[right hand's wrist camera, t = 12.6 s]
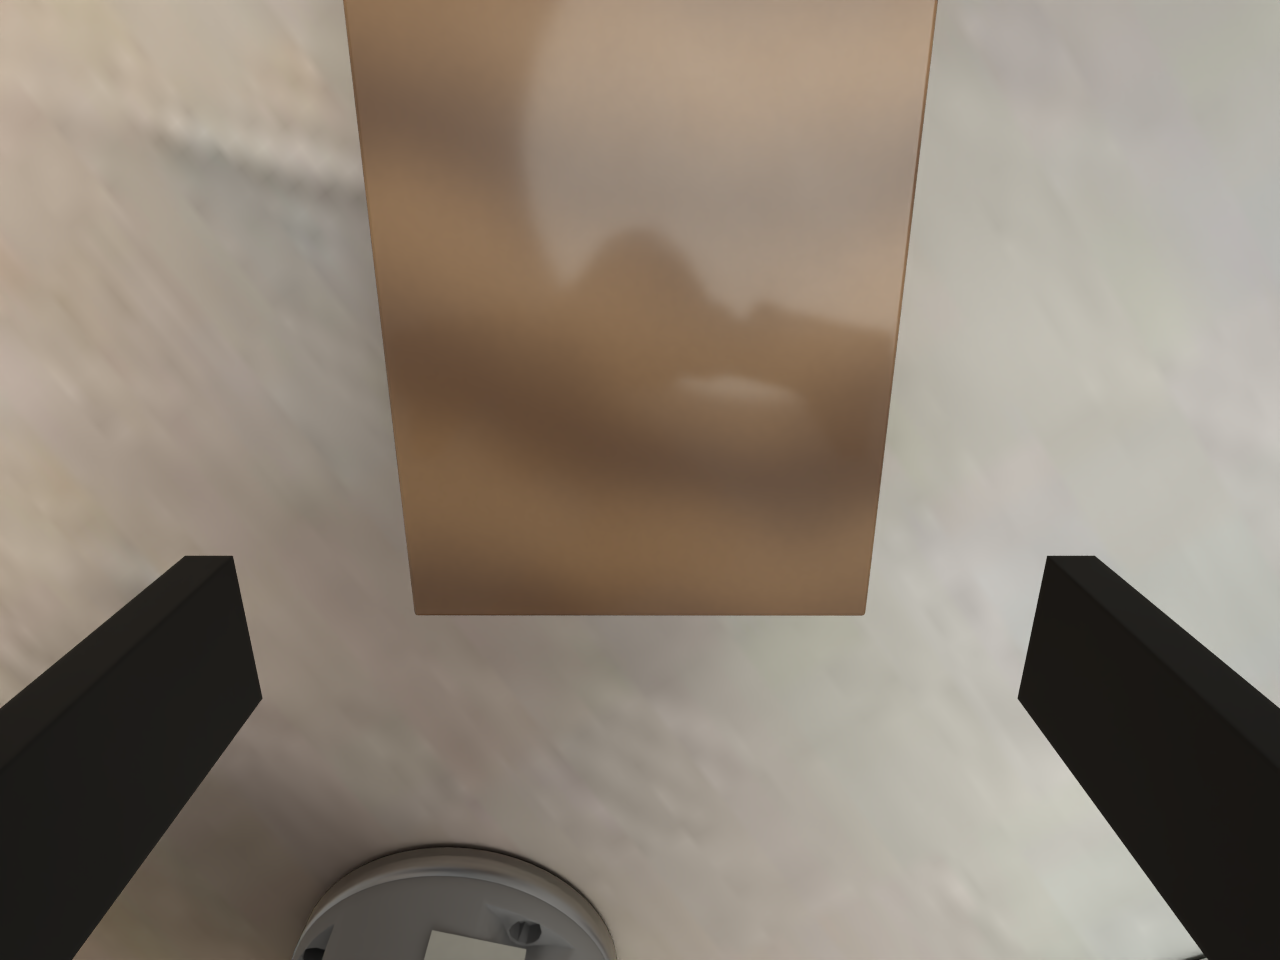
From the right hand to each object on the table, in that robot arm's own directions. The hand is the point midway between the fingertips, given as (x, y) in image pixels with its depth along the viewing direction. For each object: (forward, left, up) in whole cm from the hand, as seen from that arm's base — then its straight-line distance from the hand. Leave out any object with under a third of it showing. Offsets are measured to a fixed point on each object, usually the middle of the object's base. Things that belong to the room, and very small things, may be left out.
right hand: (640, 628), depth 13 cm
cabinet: (+1, +7, -16) cm, 18 cm away
